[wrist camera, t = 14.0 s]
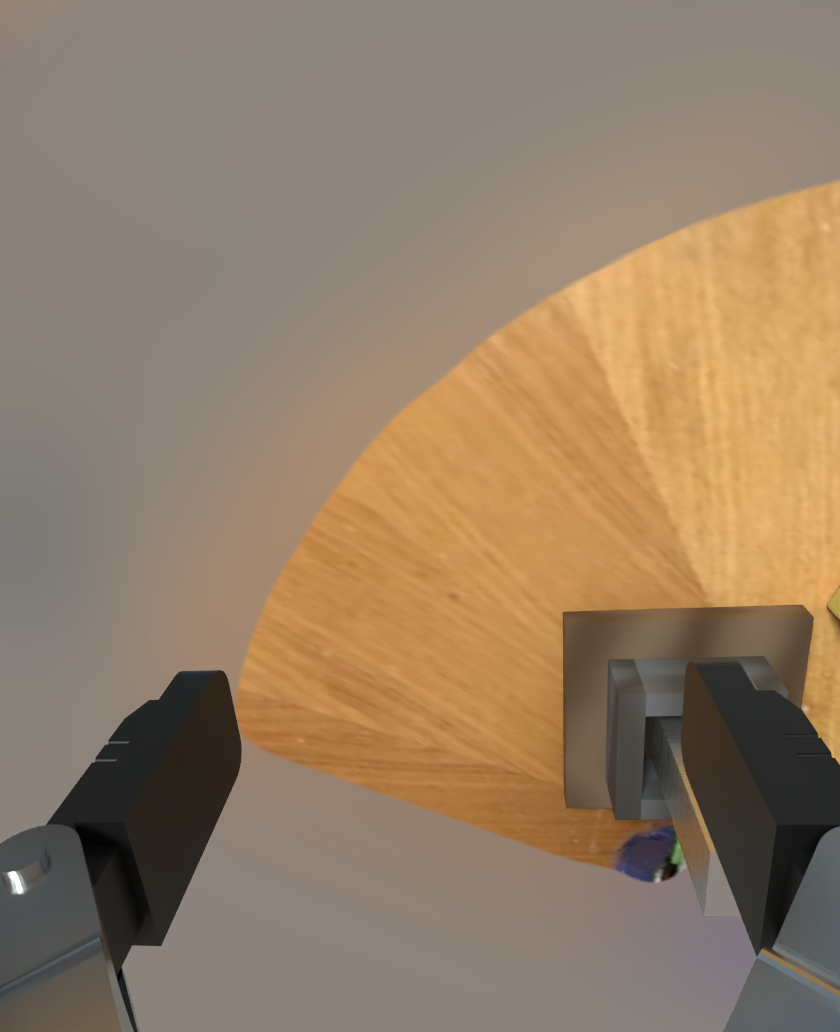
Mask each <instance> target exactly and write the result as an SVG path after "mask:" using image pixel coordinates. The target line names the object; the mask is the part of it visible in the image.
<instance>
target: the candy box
mask: <svg viewBox="0 0 840 1032" xmlns="http://www.w3.org/2000/svg"><path fill="white" fill-rule="evenodd" d="M827 607H828V608H829V609H830V610H831V611H832V612H833V614H834V615H835V616H836V617H838V618H839V619H840V587H839V588H838V590H837V591H836V593H835V594H834V596H833V597H832V599H831V600H830V602H829V603H828V605H827Z"/></svg>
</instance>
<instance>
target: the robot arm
mask: <svg viewBox="0 0 840 1032" xmlns="http://www.w3.org/2000/svg"><path fill="white" fill-rule="evenodd" d="M681 750H682V758H683V764H684V768H685V772H686V775H687V778H688V781H689V783H690V786H691V788H692V791H693V794H694V796H695V799H696V801H697V804H698V806H699V809H700V812H701V814H702V817H703V819H704V822H705V824H706V827H707V830H708V832H709V835H710V837H711V840H712V842H713V845H714V848H715V850H716V853H717V855H718V858H719V860H720V863H721V866H722V868H723V871H724V873H725V876H726V878H727V881H728V884H729V886H730V889H731V891H732V894H733V896H734V899H735V902H736V904H737V907H738V909H739V912H740V914H741V917H742V920H743V922H744V925H745V927H746V930H747V932H748V935H749V938H750V940H751V943H752V945H753V948H754V950H755V953H756V956H757V958H756V960H755V962H754V964H753V967H752V969H751V971H750V973H749V975H748V978H747V980H746V983H745V984H744V987H743V989H742V991H741V993H740V995H739V998H738V1000H737V1002H736V1004H735V1007H734V1009H733V1011H732V1013H731V1015H730V1018H729V1020H728V1022H727V1024H726V1026H725V1029H724V1031H723V1032H840V765H839V763H838V762H837V761H836V759H835V758H832V756H831V752H830V750H829V749H828V747H827V746H826V745H825V743H824V742H823V740H822V739H821V738H818V733H817V731H816V730H815V729H814V727H813V726H812V724H811V723H810V721H809V720H808V718H807V717H806V716H805V714H804V713H803V711H802V710H801V709H800V708H798V707H797V706H796V705H794V704H793V703H791V702H790V701H789V700H787V699H786V698H785V697H783V696H782V695H780V694H779V693H778V692H776V691H775V690H756V689H755V687H754V686H753V684H752V682H751V681H750V679H749V677H748V676H747V674H746V673H745V671H744V669H743V668H742V666H741V665H740V663H739V662H738V661H736V660H715V661H689V662H688V664H687V667H686V672H685V685H684V700H683V714H682V728H681ZM240 763H241V740H240V735H239V730H238V725H237V720H236V715H235V711H234V706H233V701H232V696H231V691H230V687H229V682H228V679H227V676H226V674H225V673H224V672H223V671H221V670H217V671H216V670H215V671H181V672H179V673H178V674H177V675H176V676H175V677H174V678H173V680H172V681H171V683H170V684H169V686H168V687H167V689H166V690H165V691H164V693H163V694H162V696H161V697H160V699H159V700H149V701H148V702H146V703H145V704H144V705H142V706H141V707H140V708H138V709H137V710H136V711H134V712H133V713H132V714H130V715H129V716H128V717H127V718H125V719H124V721H123V722H122V723H121V724H120V726H119V727H118V728H117V730H116V731H115V732H114V734H113V735H112V736H111V738H110V739H109V743H108V745H105V746H104V747H103V749H102V750H101V751H100V753H99V754H98V755H97V757H96V761H95V763H92V764H91V765H90V766H89V767H88V769H87V770H86V772H85V773H84V775H83V776H82V777H81V778H80V780H79V781H78V782H77V784H76V785H75V786H74V788H73V789H72V790H71V792H70V793H69V795H68V796H67V797H66V798H65V800H64V801H63V803H62V804H61V805H60V807H59V808H58V809H57V811H56V812H55V813H54V815H53V816H52V817H51V819H50V820H49V821H48V823H47V824H46V825H44V826H38V827H34V828H31V829H28V830H25V831H22V832H20V833H18V834H16V835H14V836H12V837H10V838H8V839H6V840H5V841H3V842H2V843H0V1032H140V1031H139V1027H138V1023H137V1019H136V1015H135V1011H134V1007H133V1003H132V999H131V995H130V991H129V988H128V984H127V980H126V976H125V973H124V970H123V967H122V965H123V962H124V961H125V959H126V957H127V954H128V952H129V950H130V948H131V946H132V945H143V946H145V945H146V946H161V945H162V943H163V940H164V938H165V936H166V934H167V932H168V929H169V927H170V925H171V923H172V920H173V918H174V916H175V914H176V911H177V909H178V907H179V905H180V903H181V900H182V898H183V896H184V894H185V892H186V889H187V887H188V885H189V883H190V880H191V878H192V876H193V874H194V872H195V869H196V867H197V865H198V863H199V861H200V858H201V856H202V854H203V852H204V849H205V847H206V845H207V843H208V841H209V838H210V836H211V834H212V832H213V830H214V827H215V825H216V823H217V821H218V818H219V816H220V814H221V812H222V810H223V807H224V805H225V803H226V801H227V798H228V796H229V794H230V792H231V790H232V787H233V785H234V783H235V781H236V778H237V776H238V772H239V769H240Z"/></svg>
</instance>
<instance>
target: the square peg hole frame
mask: <svg viewBox="0 0 840 1032" xmlns="http://www.w3.org/2000/svg"><path fill="white" fill-rule="evenodd" d="M813 620H814V617H813V616H812V615H811V614H810V613H809V612H808V610H807V609H806V608H805V607H804V606H803V605H782V606H748V607H714V608H681V609H647V610H614V611H580V612H563V715H564V796H565V802H566V808H613V812H614V817H615V820H672V819H671V816H670V813H669V810H668V807H667V804H666V801H665V798H664V795H663V792H662V789H661V786H660V783H659V780H658V777H657V774H656V771H655V768H654V765H653V762H652V759H651V756H650V753H649V750H648V747H647V741H648V722H649V716H682V714H683V700H684V685H685V672H686V667H687V664H688V662H689V661H715V660H736V661H738V662H739V663H740V665H741V666H742V668H743V669H744V671H745V673H746V674H747V676H748V677H749V679H750V681H751V682H752V684H753V686H754V687H755V689H756V690H775V691H776V692H778V693H779V694H780V695H782V696H783V697H785V698H786V699H787V700H789V701H790V702H791V703H793V704H794V705H796V706H797V707H798V708H800V709H801V704H802V697H803V690H804V683H805V676H806V669H807V662H808V655H809V648H810V641H811V634H812V627H813Z"/></svg>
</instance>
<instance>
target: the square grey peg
mask: <svg viewBox="0 0 840 1032" xmlns="http://www.w3.org/2000/svg"><path fill="white" fill-rule="evenodd" d="M681 728H682V716H649V722H648V741H647V747H648V750H649V753H650V756H651V759H652V762H653V765H654V768H655V771H656V774H657V777H658V780H659V783H660V786H661V789H662V792H663V795H664V798H665V801H666V804H667V807H668V810H669V813H670V816H671V819H672V822H673V825H674V828H675V831H676V834H677V837H678V840H679V843H680V846H681V849H682V852H683V855H684V858H685V861H686V864H687V867H688V870H689V873H690V876H691V879H692V882H693V885H694V888H695V891H696V894H697V897H698V900H699V903H700V906H701V909H702V912H703V915H704V917H741V914H740V912H739V909H738V907H737V904H736V902H735V899H734V896H733V894H732V891H731V889H730V886H729V884H728V881H727V878H726V876H725V873H724V871H723V868H722V866H721V863H720V860H719V858H718V855H717V853H716V850H715V848H714V845H713V842H712V840H711V837H710V835H709V832H708V830H707V827H706V824H705V822H704V819H703V817H702V814H701V812H700V809H699V806H698V804H697V801H696V799H695V796H694V794H693V791H692V788H691V786H690V783H689V781H688V778H687V775H686V772H685V768H684V764H683V758H682V750H681Z"/></svg>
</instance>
